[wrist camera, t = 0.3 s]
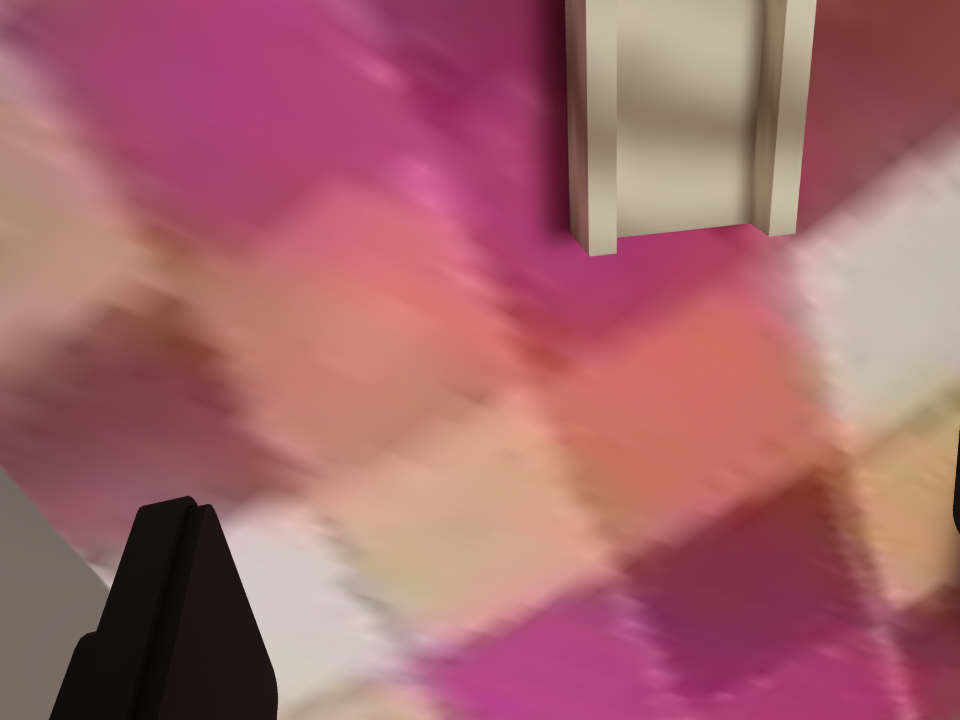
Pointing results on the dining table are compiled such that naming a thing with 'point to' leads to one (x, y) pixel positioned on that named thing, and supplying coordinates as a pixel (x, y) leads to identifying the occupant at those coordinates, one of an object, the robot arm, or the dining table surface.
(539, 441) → the dining table surface
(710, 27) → the birch chute
